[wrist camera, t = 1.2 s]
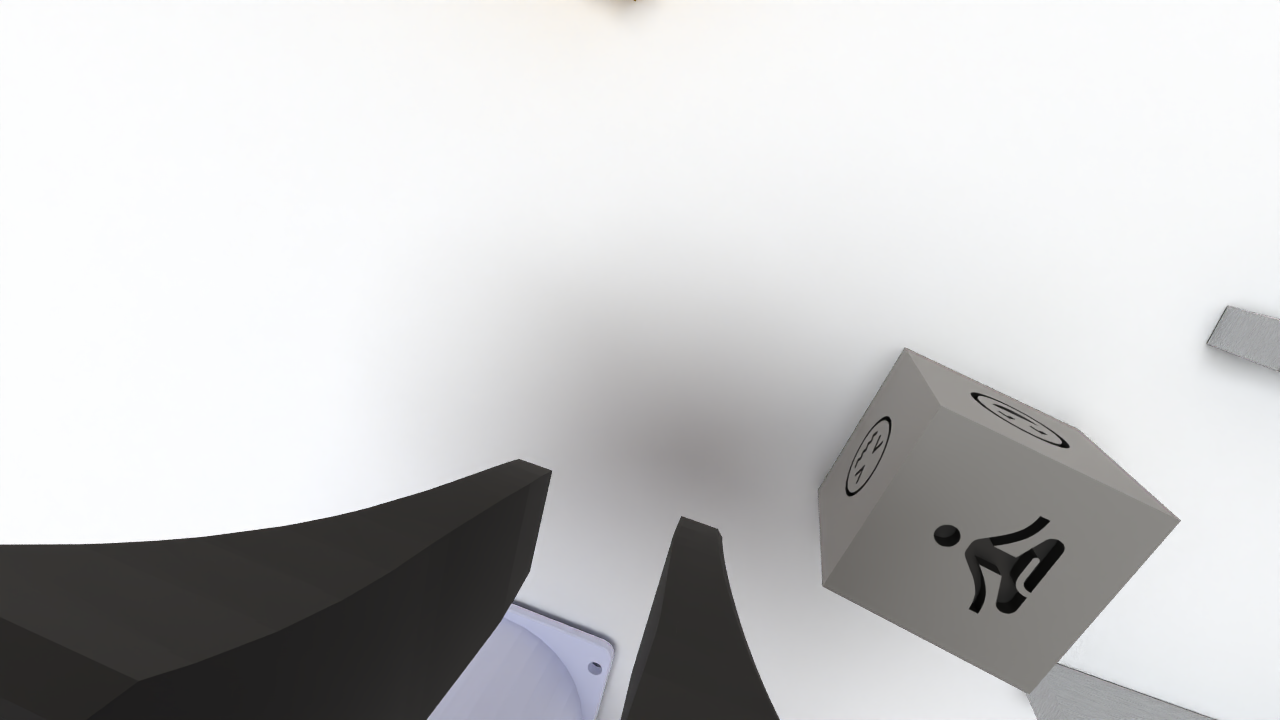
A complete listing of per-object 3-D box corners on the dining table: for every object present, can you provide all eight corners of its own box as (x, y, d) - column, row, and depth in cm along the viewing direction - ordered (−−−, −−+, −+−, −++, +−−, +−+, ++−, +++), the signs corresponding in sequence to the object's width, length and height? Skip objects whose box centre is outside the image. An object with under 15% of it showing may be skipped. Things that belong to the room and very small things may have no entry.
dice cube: (973, 567, 19) (1029, 694, 14) (817, 489, 19) (822, 586, 15) (1078, 429, 17) (1180, 520, 12) (904, 347, 18) (940, 405, 13)
